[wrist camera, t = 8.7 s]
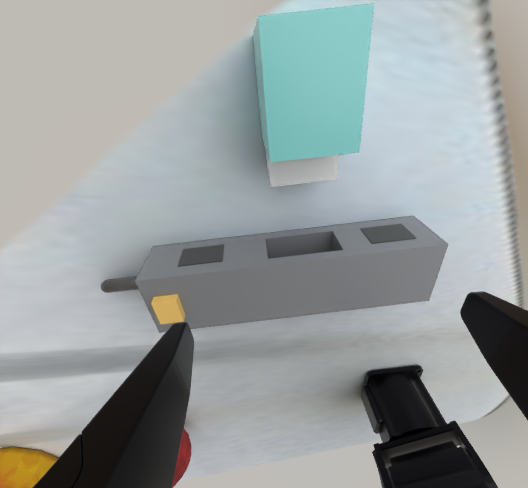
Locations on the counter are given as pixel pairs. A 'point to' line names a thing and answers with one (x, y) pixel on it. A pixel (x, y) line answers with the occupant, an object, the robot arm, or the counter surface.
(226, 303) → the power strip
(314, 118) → the block
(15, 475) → the bucket of meat
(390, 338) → the counter surface
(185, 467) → the onion
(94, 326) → the counter surface
